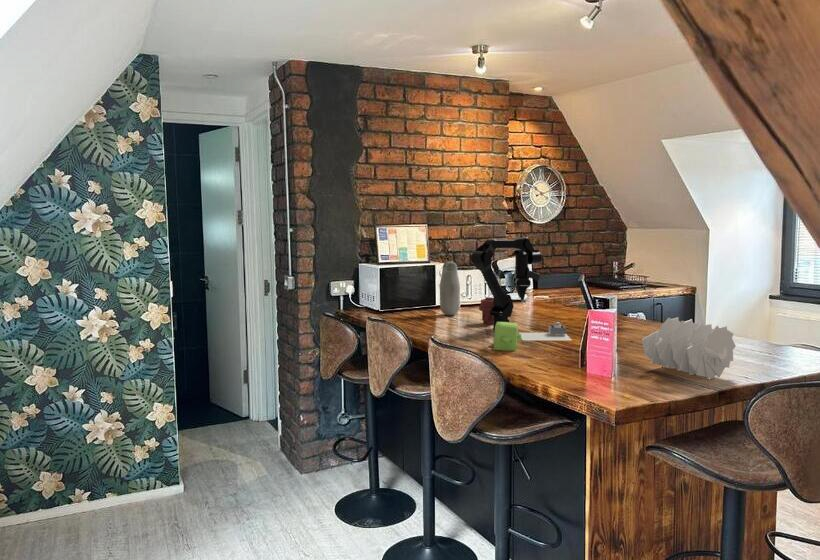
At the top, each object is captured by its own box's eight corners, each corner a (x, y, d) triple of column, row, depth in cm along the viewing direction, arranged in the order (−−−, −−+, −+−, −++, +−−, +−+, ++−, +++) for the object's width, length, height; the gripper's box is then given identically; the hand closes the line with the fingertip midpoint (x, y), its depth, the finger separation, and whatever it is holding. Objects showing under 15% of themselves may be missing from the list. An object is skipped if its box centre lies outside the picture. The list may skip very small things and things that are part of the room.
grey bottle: (436, 314, 338) (436, 261, 335) (454, 313, 342) (453, 260, 339) (445, 317, 329) (445, 262, 326) (463, 315, 333) (463, 261, 330)
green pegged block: (519, 355, 243) (520, 330, 242) (492, 353, 245) (494, 328, 244) (521, 344, 261) (522, 321, 259) (496, 342, 262) (497, 319, 261)
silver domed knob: (550, 335, 274) (550, 323, 273) (548, 333, 280) (548, 321, 280) (566, 335, 273) (566, 323, 273) (563, 333, 280) (563, 321, 279)
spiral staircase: (667, 375, 224) (732, 389, 202) (633, 359, 216) (697, 371, 194) (682, 326, 227) (748, 334, 204) (649, 308, 219) (714, 314, 197)
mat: (522, 341, 265) (522, 340, 265) (518, 334, 282) (518, 332, 282) (572, 341, 264) (572, 340, 264) (565, 334, 281) (565, 332, 280)
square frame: (550, 334, 274) (550, 328, 273) (548, 331, 280) (548, 325, 280) (566, 334, 273) (566, 328, 273) (563, 331, 280) (564, 325, 279)
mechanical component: (498, 321, 314) (501, 325, 304) (478, 321, 315) (479, 325, 305) (499, 296, 313) (501, 299, 303) (478, 296, 313) (480, 299, 303)
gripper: (542, 266, 287) (541, 301, 288) (536, 263, 305) (536, 296, 307) (516, 266, 288) (516, 301, 289) (513, 263, 306) (512, 296, 308)
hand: (521, 298), depth 298 cm, fingers open, 9 cm apart
